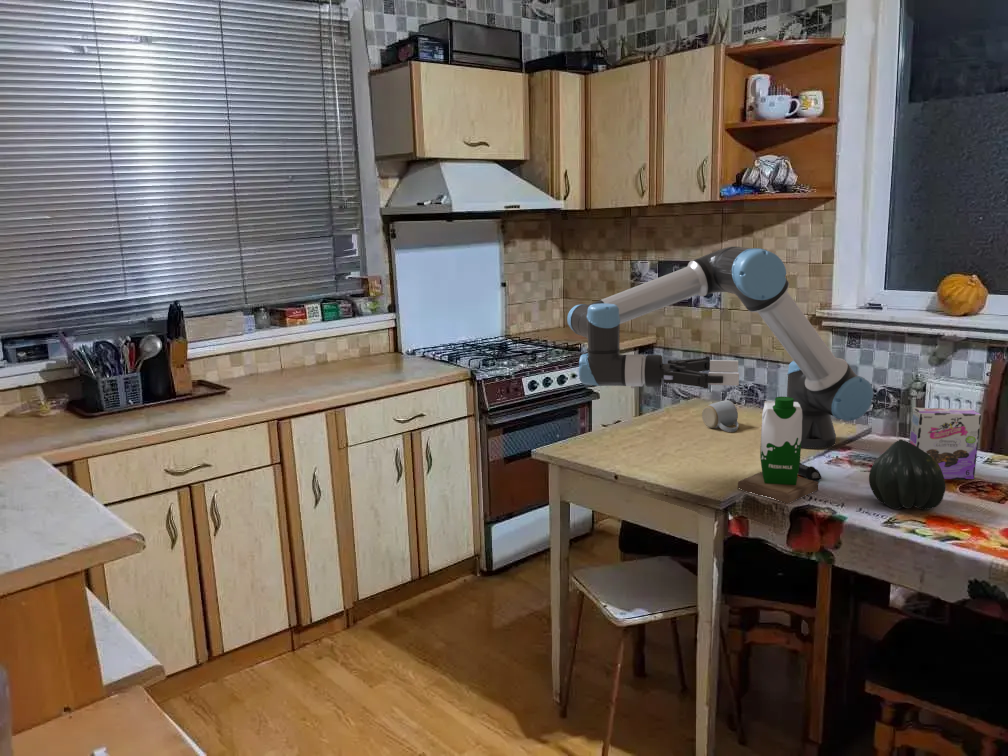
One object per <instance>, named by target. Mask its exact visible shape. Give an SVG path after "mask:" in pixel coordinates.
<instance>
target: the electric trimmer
mask: <svg viewBox="0 0 1008 756" xmlns="http://www.w3.org/2000/svg"><path fill="white" fill-rule="evenodd" d="M798 475H800V476H802V477H803V478H806V479H809V480H813V481H817V482H818V481H821V480H822V475H821V472H820V471H819V470H818V468H815V466H809V465H806V464H803V463H801V462H800V465H799V471H798Z"/></svg>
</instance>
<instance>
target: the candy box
mask: <svg viewBox="0 0 1008 756" xmlns="http://www.w3.org/2000/svg"><path fill="white" fill-rule="evenodd" d="M911 412H912V413H911V421H910V432H909V439H908V442H909V443H911V444H913V445H915V446H916V447H918V448H920V449H921V450H923V451H924V452H926V453H927V454H929V455H930V456H931V457H933V458H934V459H935V460H936V462H937V463H938V464H939V466H940V468H941V471H942V473H943V476H944V480H965V479H974V480H975V473H976V465H977V455H978V448H979V447H978V446H979V436H980V430H981V429H980V427H981V419H982V414H981V413H979V412H978V411H976V410H975V409H973V408H969V407H968V408H947V407H946V408H944V407H943V408H942V407H939V408H938V407H937V408H936V407H935V408H934V407H933V408H932V407H912V411H911Z"/></svg>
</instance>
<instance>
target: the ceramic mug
mask: <svg viewBox="0 0 1008 756" xmlns="http://www.w3.org/2000/svg"><path fill="white" fill-rule="evenodd" d="M701 418H702V421H703V423H704V424H705V426H706V427H707V428H709V429H721V430H722V431H724V432H728V433H735V432H736V431H737V430H738V428H739V422H738V419H739V414H738V410H737V407H736V404H734V402H732V401H731V400H729V399H725V400H722V401H717V402H713V403H710V404H708V405H705V406H704V408H703V409H702V411H701ZM729 426H730V427H729ZM732 426H735V427H732Z"/></svg>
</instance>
